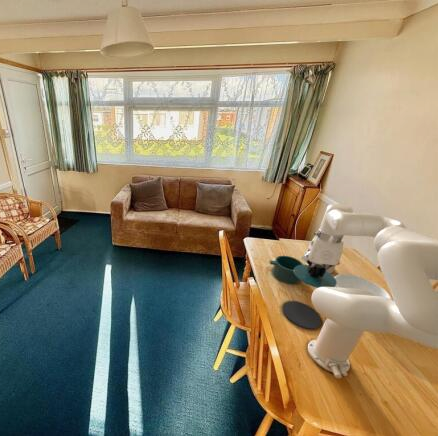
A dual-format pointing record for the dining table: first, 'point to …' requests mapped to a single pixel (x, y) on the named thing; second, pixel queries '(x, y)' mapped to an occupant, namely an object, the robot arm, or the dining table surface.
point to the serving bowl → (360, 284)
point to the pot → (285, 269)
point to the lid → (314, 276)
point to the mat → (301, 315)
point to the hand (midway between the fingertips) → (314, 274)
